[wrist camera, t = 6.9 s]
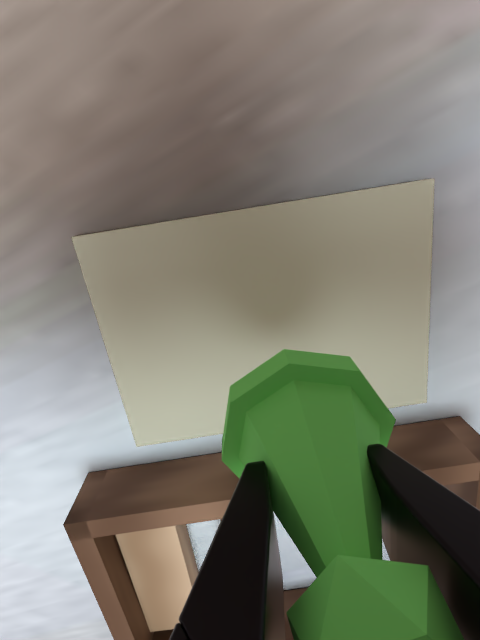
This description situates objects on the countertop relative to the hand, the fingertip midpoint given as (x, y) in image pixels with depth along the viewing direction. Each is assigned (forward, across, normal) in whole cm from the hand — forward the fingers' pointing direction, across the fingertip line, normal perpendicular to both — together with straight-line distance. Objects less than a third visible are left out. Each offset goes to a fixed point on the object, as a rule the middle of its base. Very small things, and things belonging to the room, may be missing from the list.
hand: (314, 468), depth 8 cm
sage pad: (+9, 0, 0) cm, 9 cm away
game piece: (+2, 0, 0) cm, 2 cm away
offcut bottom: (+9, +8, +12) cm, 17 cm away
